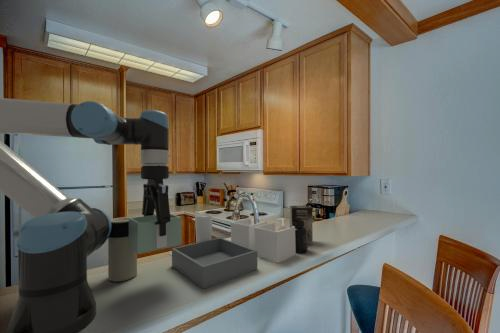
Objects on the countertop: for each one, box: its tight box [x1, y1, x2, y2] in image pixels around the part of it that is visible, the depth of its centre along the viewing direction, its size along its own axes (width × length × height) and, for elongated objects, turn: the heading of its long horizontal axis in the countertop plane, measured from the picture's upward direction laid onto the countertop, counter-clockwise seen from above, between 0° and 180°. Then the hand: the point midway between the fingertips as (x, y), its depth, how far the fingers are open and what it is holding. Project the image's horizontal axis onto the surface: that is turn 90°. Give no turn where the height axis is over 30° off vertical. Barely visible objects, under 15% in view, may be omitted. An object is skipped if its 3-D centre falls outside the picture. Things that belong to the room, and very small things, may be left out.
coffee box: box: [289, 205, 314, 246], centre depth 108 cm, size 9×6×16 cm
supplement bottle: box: [292, 220, 309, 254], centre depth 98 cm, size 7×7×12 cm
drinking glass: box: [194, 213, 213, 243], centre depth 98 cm, size 7×7×15 cm
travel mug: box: [107, 216, 138, 283], centre depth 77 cm, size 8×8×18 cm
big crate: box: [171, 237, 258, 290], centre depth 83 cm, size 20×22×6 cm
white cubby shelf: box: [230, 218, 297, 264], centre depth 98 cm, size 25×11×11 cm, turn 45°
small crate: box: [129, 212, 183, 255], centre depth 71 cm, size 12×9×8 cm
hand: (155, 243), depth 71 cm, fingers closed on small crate, 9 cm apart
